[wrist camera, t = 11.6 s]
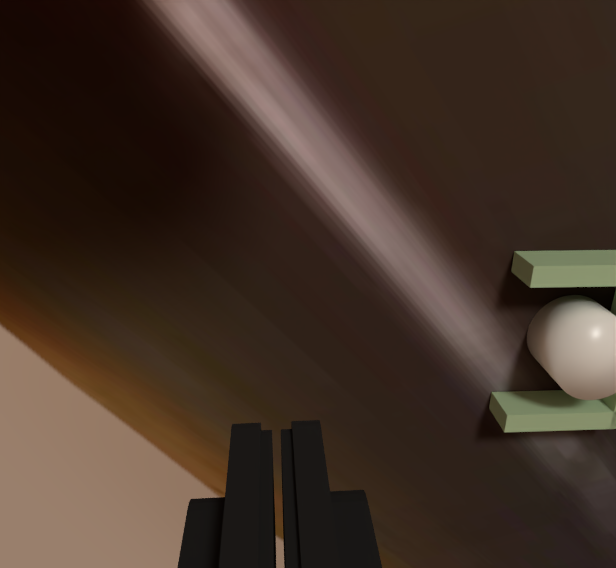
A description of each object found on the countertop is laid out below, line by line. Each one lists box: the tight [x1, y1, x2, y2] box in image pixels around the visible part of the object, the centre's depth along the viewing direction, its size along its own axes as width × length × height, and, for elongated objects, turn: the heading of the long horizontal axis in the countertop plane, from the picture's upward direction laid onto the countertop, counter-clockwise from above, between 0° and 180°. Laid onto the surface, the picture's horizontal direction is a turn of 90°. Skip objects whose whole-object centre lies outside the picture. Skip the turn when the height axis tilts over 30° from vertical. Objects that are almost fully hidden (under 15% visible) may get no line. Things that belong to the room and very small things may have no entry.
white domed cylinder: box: [527, 295, 616, 400], centre depth 38 cm, size 6×6×4 cm
